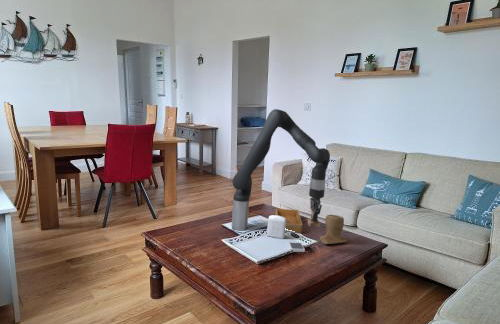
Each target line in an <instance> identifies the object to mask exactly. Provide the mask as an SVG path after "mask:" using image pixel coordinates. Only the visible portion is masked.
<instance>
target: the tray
mask: <svg viewBox="0 0 500 324" xmlns="http://www.w3.org/2000/svg"><path fill="white" fill-rule="evenodd" d="M299 211H300V210H299V209H287V208H286V209H285V208H275V213H274V214H275V215H277V216H281V217H284V218H286V229H288V230H292V231H295V232H294V233H296V232H298V233H299V234H302V233H303V228H304V225H303V221H302V219H301V215H300V212H299ZM298 233H297V234H298Z"/></svg>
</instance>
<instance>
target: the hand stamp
mask: <svg viewBox="0 0 500 324" xmlns="http://www.w3.org/2000/svg"><path fill="white" fill-rule="evenodd" d="M316 212H317V211H316ZM311 213H312V217H310V219H307V225H308V226H309V228H321V227H320V226H321V222H320V220H319V219H317V221H313V211H311Z"/></svg>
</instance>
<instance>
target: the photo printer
mask: <svg viewBox="0 0 500 324" xmlns="http://www.w3.org/2000/svg"><path fill="white" fill-rule="evenodd" d="M285 228H286V218H284V217H281V216H277V215H274V214H272V215H269V216H268V220H267V228H266V229H267V230H266V236H267V237H271V238H276V239H280V240H281V239H283V238H284V239H285V237H286V236H285V235H286V232H285ZM284 239H283V240H284Z"/></svg>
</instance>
